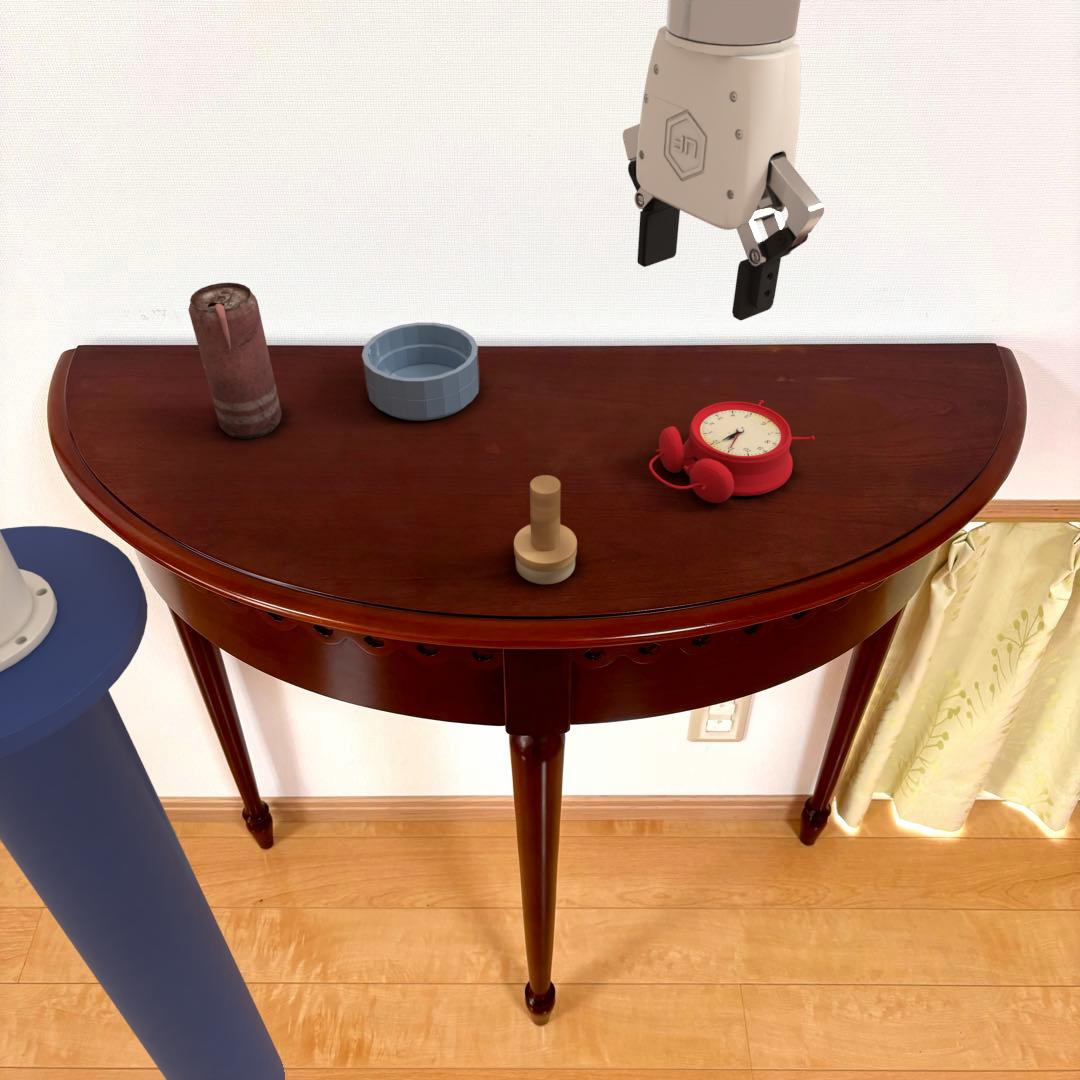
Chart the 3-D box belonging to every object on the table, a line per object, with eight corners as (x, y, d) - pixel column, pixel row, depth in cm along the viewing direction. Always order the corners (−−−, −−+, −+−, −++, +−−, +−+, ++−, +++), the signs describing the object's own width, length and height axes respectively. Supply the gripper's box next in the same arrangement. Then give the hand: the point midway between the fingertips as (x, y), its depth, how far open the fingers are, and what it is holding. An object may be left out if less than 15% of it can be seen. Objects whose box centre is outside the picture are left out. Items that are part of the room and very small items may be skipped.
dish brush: (537, 594, 78) (537, 513, 72) (502, 559, 81) (499, 479, 75) (588, 569, 80) (592, 488, 74) (552, 535, 83) (552, 456, 78)
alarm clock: (831, 438, 87) (711, 460, 79) (808, 495, 91) (690, 522, 83) (754, 386, 94) (636, 401, 86) (735, 441, 98) (620, 461, 90)
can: (227, 448, 93) (192, 317, 84) (215, 414, 97) (181, 287, 88) (289, 433, 95) (261, 304, 86) (275, 401, 99) (247, 274, 90)
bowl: (402, 437, 94) (397, 393, 91) (349, 385, 102) (342, 343, 98) (500, 399, 99) (499, 357, 96) (443, 352, 106) (440, 311, 103)
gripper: (589, -7, 59) (583, 256, 70) (798, 56, 48) (751, 354, 60) (681, -24, 62) (661, 230, 74) (896, 32, 52) (834, 319, 63)
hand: (702, 285), depth 67 cm, fingers open, 9 cm apart
